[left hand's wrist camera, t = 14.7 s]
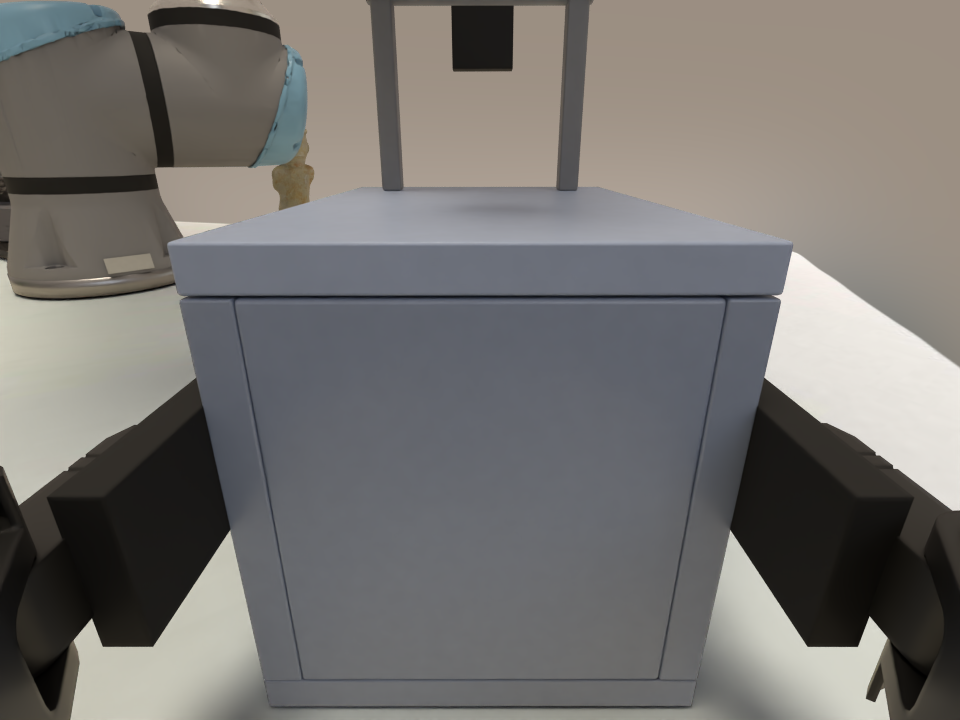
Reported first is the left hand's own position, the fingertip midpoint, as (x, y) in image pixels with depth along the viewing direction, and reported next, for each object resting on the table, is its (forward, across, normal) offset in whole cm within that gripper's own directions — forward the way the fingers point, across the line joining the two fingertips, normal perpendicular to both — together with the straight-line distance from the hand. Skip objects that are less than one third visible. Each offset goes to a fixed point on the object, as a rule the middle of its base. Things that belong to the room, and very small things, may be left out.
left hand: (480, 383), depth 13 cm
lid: (+3, 0, +3) cm, 5 cm away
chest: (+3, 0, -6) cm, 7 cm away
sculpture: (+66, -27, -6) cm, 71 cm away
